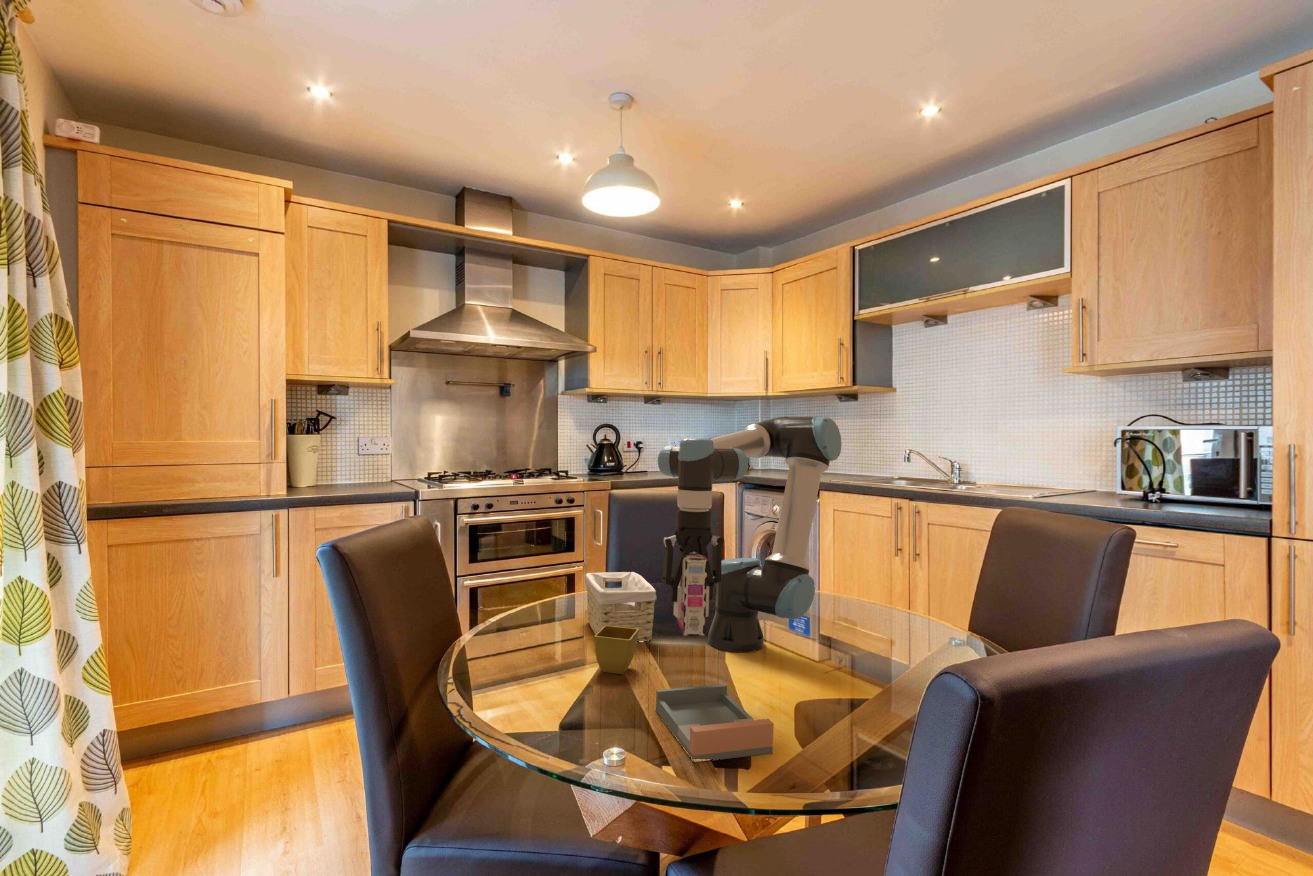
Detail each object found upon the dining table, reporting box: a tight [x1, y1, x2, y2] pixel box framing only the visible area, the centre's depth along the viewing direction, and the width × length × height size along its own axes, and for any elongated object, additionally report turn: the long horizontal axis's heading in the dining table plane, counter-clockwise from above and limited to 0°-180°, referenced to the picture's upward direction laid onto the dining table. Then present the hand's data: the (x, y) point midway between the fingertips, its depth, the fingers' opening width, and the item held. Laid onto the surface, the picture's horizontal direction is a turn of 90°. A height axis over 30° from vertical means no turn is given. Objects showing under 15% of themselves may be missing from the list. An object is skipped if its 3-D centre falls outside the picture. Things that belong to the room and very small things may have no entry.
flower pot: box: [593, 626, 639, 675], centre depth 147 cm, size 9×9×9 cm
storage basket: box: [585, 571, 657, 642], centre depth 177 cm, size 24×16×15 cm
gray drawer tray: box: [655, 683, 775, 761], centre depth 118 cm, size 15×21×5 cm
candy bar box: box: [676, 552, 707, 637], centre depth 136 cm, size 11×5×16 cm, turn 5°
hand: (690, 615), depth 136 cm, fingers closed on candy bar box, 6 cm apart
